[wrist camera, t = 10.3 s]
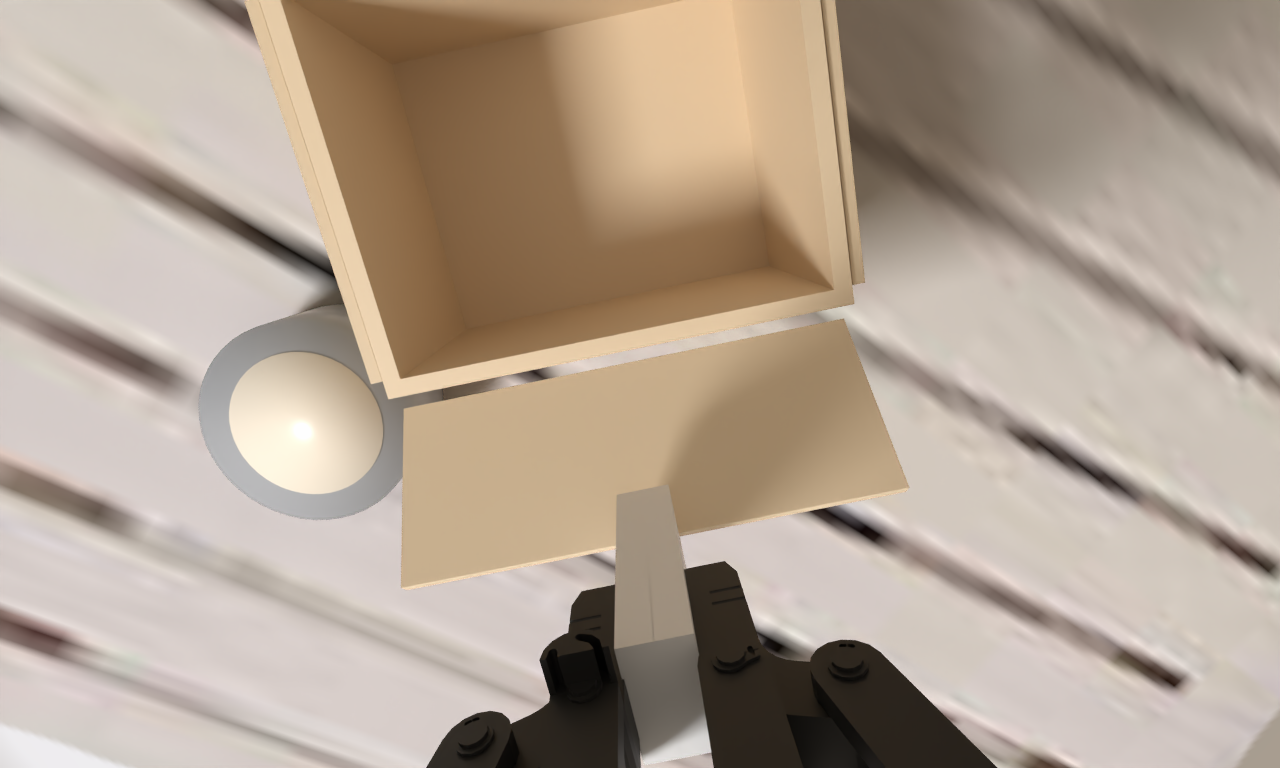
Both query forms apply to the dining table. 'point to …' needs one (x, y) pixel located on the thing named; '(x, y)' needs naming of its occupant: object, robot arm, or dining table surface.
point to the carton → (565, 172)
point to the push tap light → (304, 418)
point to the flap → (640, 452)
